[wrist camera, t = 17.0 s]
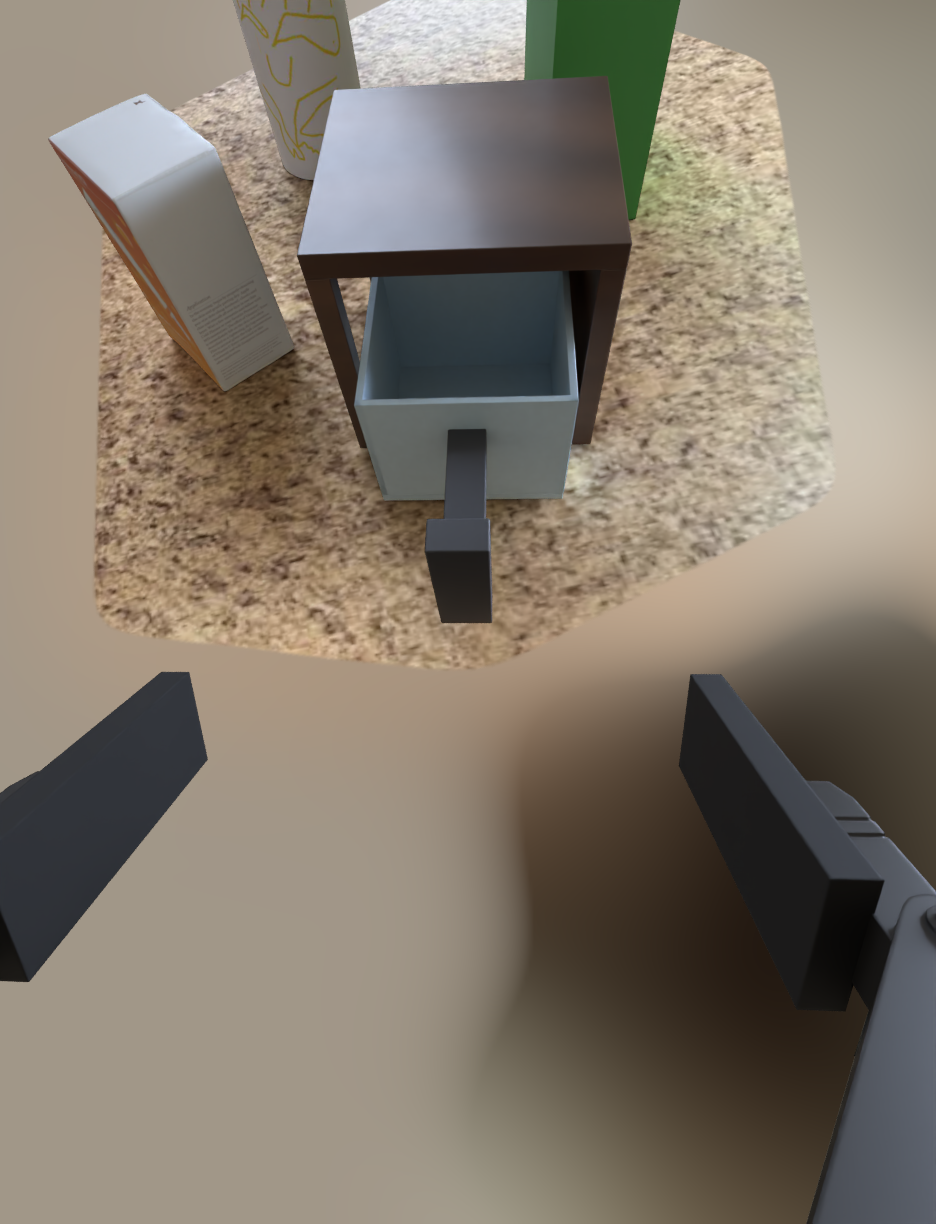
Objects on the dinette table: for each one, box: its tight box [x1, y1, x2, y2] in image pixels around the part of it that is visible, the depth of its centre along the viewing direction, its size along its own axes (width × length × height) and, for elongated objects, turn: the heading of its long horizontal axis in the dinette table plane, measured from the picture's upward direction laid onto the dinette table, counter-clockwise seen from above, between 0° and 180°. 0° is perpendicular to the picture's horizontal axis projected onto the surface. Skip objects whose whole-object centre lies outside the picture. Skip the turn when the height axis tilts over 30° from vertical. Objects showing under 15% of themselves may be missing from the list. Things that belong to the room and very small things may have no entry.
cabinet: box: [297, 76, 632, 448], centre depth 34 cm, size 14×15×13 cm
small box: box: [48, 94, 294, 391], centre depth 37 cm, size 8×6×13 cm
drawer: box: [354, 271, 579, 623], centre depth 31 cm, size 20×11×10 cm, turn 179°
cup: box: [233, 0, 361, 180], centre depth 47 cm, size 8×8×12 cm
